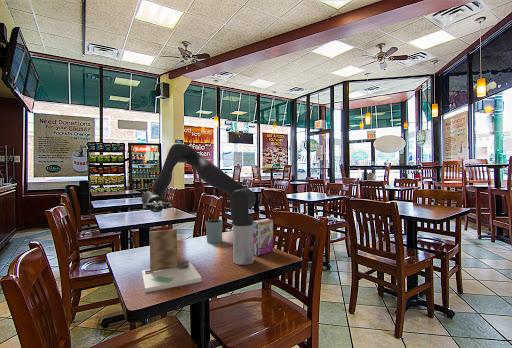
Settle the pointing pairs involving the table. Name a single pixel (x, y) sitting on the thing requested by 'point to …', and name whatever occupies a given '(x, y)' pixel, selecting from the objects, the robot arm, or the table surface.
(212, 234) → the grey-blue bumpy cylinder
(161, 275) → the plate
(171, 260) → the brown flat streaked slab
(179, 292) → the table surface
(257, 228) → the candy bar box
